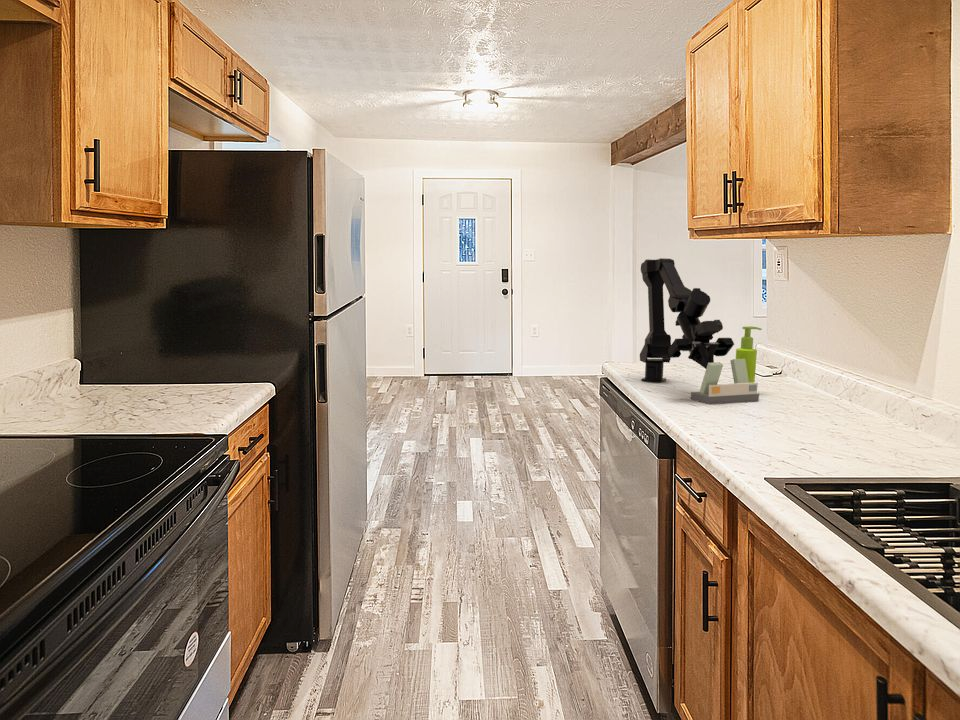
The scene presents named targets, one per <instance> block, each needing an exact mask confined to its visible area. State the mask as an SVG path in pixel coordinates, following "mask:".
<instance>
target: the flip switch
mask: <svg viewBox="0 0 960 720" xmlns="http://www.w3.org/2000/svg"><path fill="white" fill-rule="evenodd" d="M723 367H724V364H722V363H721V362H718V361H717V362H715V361H714V363H708V365H707V368H706V369H705V371H704V376H703V378H702V381H701V385H700V389H699V392H701V393H702V394H709V385H717V384H718V382H719V380H720V376H721V374H722V370H723Z"/></svg>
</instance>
